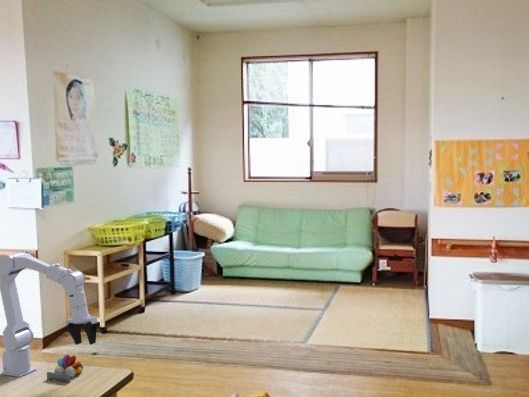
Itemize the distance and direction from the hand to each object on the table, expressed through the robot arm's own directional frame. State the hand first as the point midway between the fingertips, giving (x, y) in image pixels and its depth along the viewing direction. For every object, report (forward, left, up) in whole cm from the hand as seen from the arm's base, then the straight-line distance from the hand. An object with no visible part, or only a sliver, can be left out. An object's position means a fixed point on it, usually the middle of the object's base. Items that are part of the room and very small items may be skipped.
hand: (85, 343), depth 201 cm
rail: (-8, -6, -12) cm, 16 cm away
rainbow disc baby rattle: (-9, +1, -13) cm, 16 cm away
